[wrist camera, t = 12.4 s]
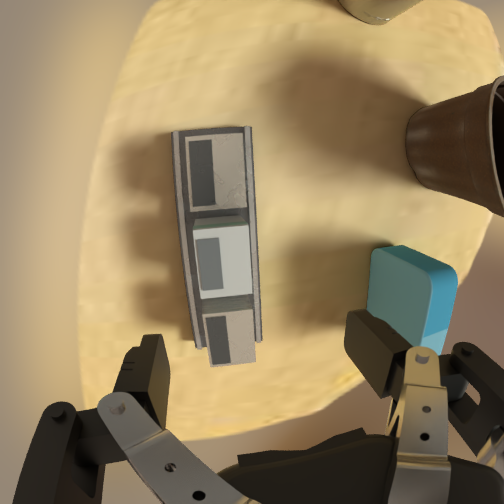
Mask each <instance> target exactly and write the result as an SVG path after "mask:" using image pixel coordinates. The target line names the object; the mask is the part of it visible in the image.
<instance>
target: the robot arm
mask: <svg viewBox="0 0 504 504" xmlns="http://www.w3.org/2000/svg"><path fill="white" fill-rule="evenodd" d="M338 1H339V2H340V3H341V5H342V6H343V7H344V8H345V9H346V10H347V11H348V12H350V13H351V14H352V15H353V16H355V17H356V18H358V19H360V20H362V21H364V22H367V23H370V24H374V25H382V24H385V23H387V22H389V21H390V20H392V19H393V18H395V17H396V16H398V15H400V14H401V13H403V12H405V11H406V10H408V9H410V8H411V7H413V6H414V5H416V4H418V3H420V2H421V1H423V0H338ZM344 347H345V351H346V353H347V355H348V356H349V357H350V359H351V360H352V361H353V363H354V364H355V365H356V367H357V368H358V369H359V371H360V372H361V373H362V375H363V376H364V377H365V379H366V380H367V381H368V383H369V384H370V385H371V387H372V388H373V389H374V391H375V392H376V393H377V395H378V396H379V397H380V398H381V399H382V398H385V397H387V396H390V395H391V396H392V397H393V398H392V401H391V405H390V410H389V415H388V420H387V425H386V430H385V434H384V435H379V434H371V435H370V434H369V435H366V433H365V431H364V430H363V428H359V429H355V430H352V431H349V432H346V433H343V434H339V435H336V436H333V437H331V438H329V439H327V440H326V441H324V442H322V443H320V444H318V445H316V446H314V447H311V448H309V449H307V450H300V451H299V450H296V451H295V450H294V451H278V450H270V451H263V452H257V453H250V454H242V455H237V456H238V464H235V465H232V466H230V467H228V468H225V469H223V470H222V471H220V472H218V473H217V474H216V473H215V472H213V471H212V470H211V469H210V468H209V467H208V466H206V465H205V464H204V463H203V462H202V461H201V460H200V459H199V458H197V457H196V456H195V455H194V454H193V453H192V452H191V451H190V450H189V449H188V448H187V447H186V446H185V445H184V444H182V443H181V442H180V441H179V440H178V439H177V438H176V437H175V436H174V435H173V434H172V433H171V432H170V431H169V430H168V429H165V427H166V415H167V405H168V395H169V385H170V365H169V361H168V357H167V353H166V349H165V344H164V340H163V336H162V334H148V335H143V338H142V341H141V344H140V347H132V348H131V349H130V350H129V351H128V352H127V353H126V355H125V357H124V360H123V364H122V366H121V370H120V372H119V375H118V377H117V380H116V383H115V386H114V389H113V392H112V393H110V394H108V395H106V396H104V397H103V398H102V399H101V400H100V401H99V403H98V406H97V408H94V409H89V410H83V411H76V409H75V408H74V406H73V405H72V404H70V403H68V402H56V403H53V404H51V405H49V406H48V407H47V408H46V409H45V410H44V412H43V414H42V417H41V419H40V421H39V424H38V426H37V429H36V431H35V434H34V436H33V439H32V442H31V444H30V447H29V450H28V453H27V456H26V459H25V461H24V464H23V468H22V471H21V474H20V477H19V481H18V484H17V488H16V491H15V495H14V499H13V503H12V504H101V501H102V491H103V482H104V473H105V466H106V464H108V463H113V462H119V461H124V460H127V461H128V463H129V464H130V465H131V467H132V468H133V469H134V471H135V472H136V473H137V475H138V476H139V477H140V478H141V480H142V481H143V482H144V483H145V485H146V486H147V487H148V488H149V489H150V490H151V492H152V493H153V494H154V495H155V496H156V498H157V499H158V500H159V501H160V503H161V504H504V369H502V368H501V367H500V366H499V365H498V364H497V363H495V362H494V361H493V360H492V359H491V358H490V357H489V356H487V355H486V354H485V353H484V352H483V351H481V350H480V349H479V348H478V347H477V346H475V345H474V344H471V343H467V342H459V343H456V344H455V345H454V346H453V349H452V352H451V354H447V355H437V353H436V352H435V351H434V350H432V349H430V348H428V347H423V346H416V347H413V346H412V345H411V344H410V343H409V342H408V341H407V340H406V339H405V338H404V337H402V336H401V335H400V334H399V333H397V331H396V330H395V329H394V328H392V327H391V326H390V325H389V324H388V323H387V322H386V321H384V320H382V319H379V318H377V317H374V316H373V315H372V314H371V313H370V312H368V311H367V310H366V309H360V310H355V311H350V312H348V314H347V320H346V329H345V337H344ZM469 383H470V384H471V385H472V386H473V387H474V388H475V389H476V390H477V391H478V392H479V394H480V398H481V399H480V403H479V405H477V404H476V403H475V402H474V401H473V400H472V398H471V397H470V396H469V395H468V394H467V393H466V392H465V390H466V388H467V386H468V384H469ZM448 420H449V421H450V423H451V424H452V425H453V427H454V428H455V429H456V430H457V432H458V433H459V434H460V435H461V437H462V438H463V440H464V441H465V442H466V444H467V445H468V446H469V448H470V449H471V450H472V452H473V453H474V454H475V456H476V457H477V463H475V462H471V461H467V460H464V459H460V458H456V457H453V456H450V455H447V452H448Z"/></svg>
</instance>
